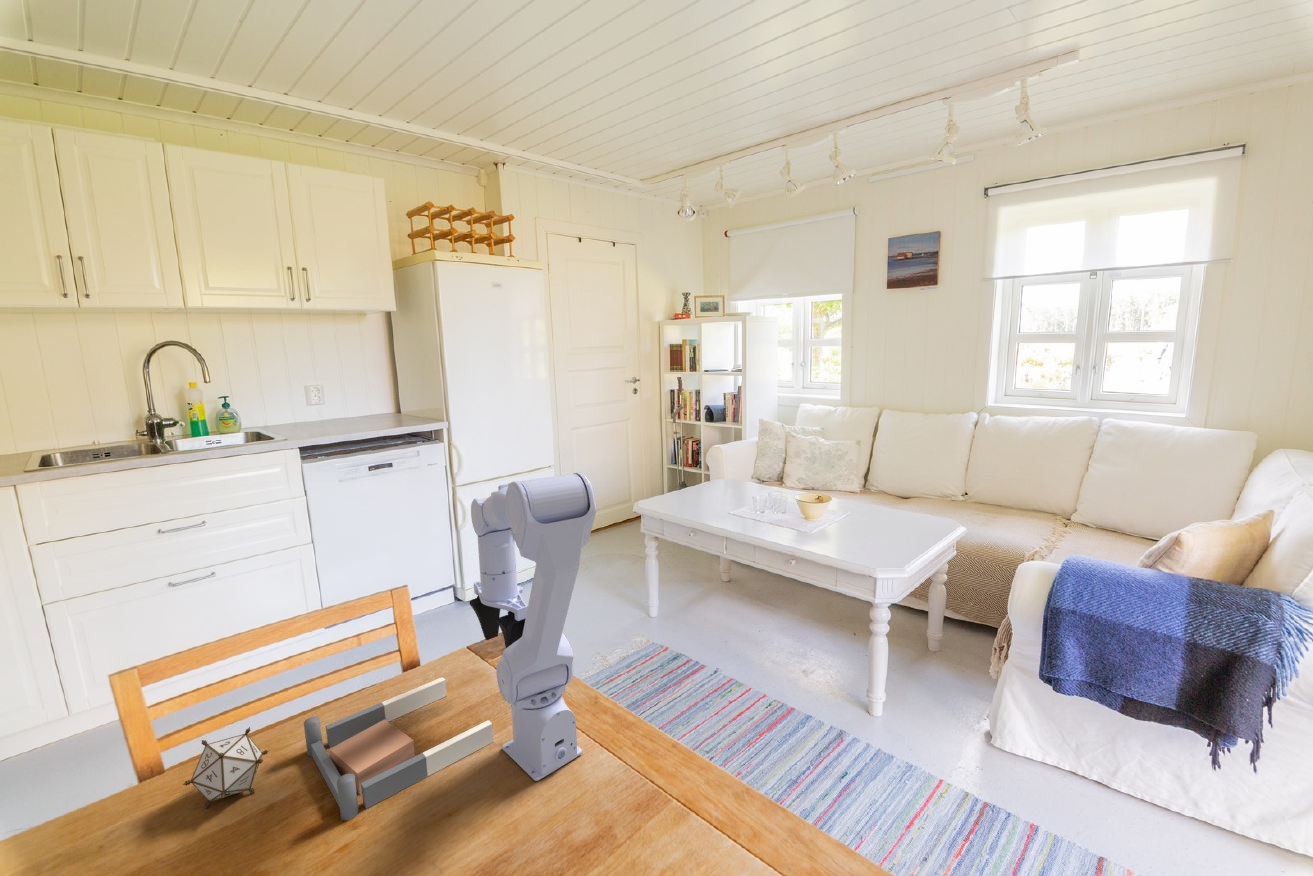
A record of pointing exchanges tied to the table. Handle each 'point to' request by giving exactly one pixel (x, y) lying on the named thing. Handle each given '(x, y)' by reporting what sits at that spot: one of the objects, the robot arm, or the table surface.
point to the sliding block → (372, 752)
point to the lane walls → (450, 748)
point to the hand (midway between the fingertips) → (502, 645)
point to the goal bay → (345, 784)
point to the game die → (227, 767)
